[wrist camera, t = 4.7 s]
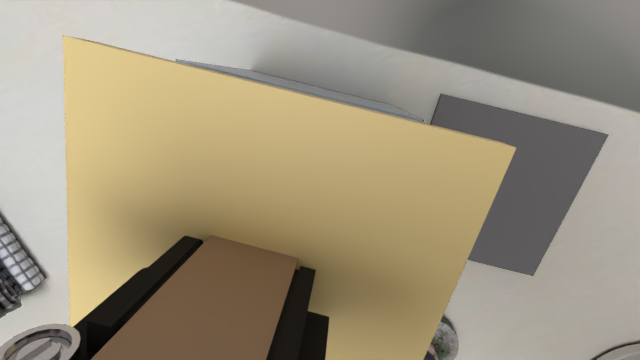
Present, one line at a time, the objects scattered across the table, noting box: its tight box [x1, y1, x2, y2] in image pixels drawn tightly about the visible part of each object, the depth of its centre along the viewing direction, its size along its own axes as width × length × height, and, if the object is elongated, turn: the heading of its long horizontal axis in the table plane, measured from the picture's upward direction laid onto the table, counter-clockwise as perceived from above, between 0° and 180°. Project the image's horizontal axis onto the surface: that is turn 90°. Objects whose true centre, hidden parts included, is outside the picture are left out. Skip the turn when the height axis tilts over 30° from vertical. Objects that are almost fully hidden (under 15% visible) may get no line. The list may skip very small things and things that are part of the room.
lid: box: [63, 36, 516, 360], centre depth 9 cm, size 13×13×6 cm
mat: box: [430, 94, 608, 276], centre depth 27 cm, size 14×14×1 cm
